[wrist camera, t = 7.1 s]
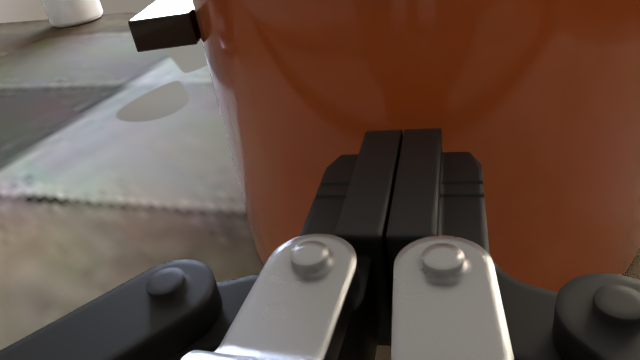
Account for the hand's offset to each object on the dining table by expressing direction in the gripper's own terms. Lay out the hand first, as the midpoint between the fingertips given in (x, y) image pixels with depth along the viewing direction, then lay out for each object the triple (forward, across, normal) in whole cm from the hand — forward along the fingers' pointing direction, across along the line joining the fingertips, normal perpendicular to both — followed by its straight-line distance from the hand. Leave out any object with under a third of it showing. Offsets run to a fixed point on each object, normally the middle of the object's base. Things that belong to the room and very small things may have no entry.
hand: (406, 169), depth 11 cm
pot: (+9, 0, +7) cm, 11 cm away
